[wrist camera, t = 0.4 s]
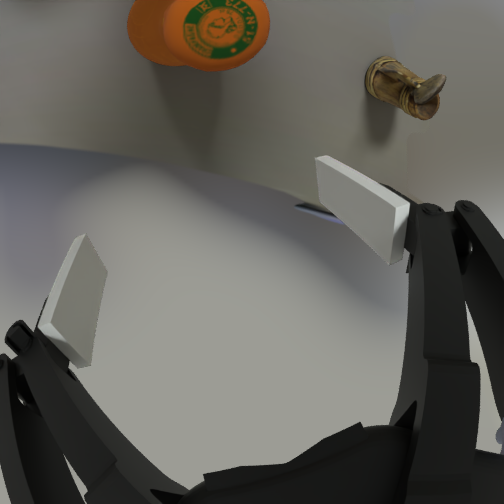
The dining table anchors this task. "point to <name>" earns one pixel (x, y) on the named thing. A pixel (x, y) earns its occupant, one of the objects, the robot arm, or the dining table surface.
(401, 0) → the dining table surface
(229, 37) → the wine bottle
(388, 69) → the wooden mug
